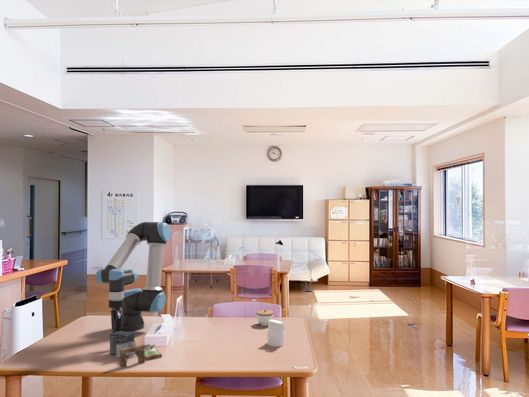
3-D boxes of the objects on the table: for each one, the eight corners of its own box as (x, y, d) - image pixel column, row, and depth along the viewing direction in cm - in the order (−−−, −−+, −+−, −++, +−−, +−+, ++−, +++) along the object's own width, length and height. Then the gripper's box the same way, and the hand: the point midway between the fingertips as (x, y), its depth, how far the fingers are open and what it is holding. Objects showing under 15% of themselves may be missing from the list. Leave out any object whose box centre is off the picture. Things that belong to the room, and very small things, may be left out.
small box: (135, 352, 213) (135, 332, 213) (127, 357, 207) (127, 335, 207) (117, 350, 216) (117, 330, 216) (109, 355, 210) (109, 334, 210)
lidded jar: (273, 327, 258) (273, 311, 258) (256, 326, 258) (256, 311, 258) (273, 322, 269) (273, 307, 269) (256, 322, 269) (256, 307, 269)
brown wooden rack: (154, 348, 215) (154, 337, 215) (161, 354, 206) (161, 342, 206) (116, 356, 204) (116, 344, 204) (122, 363, 195) (122, 350, 195)
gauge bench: (149, 346, 222) (149, 331, 222) (163, 358, 205) (163, 342, 205) (109, 354, 210) (109, 338, 210) (121, 367, 194) (121, 350, 194)
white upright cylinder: (287, 343, 227) (287, 321, 227) (276, 347, 221) (276, 324, 221) (275, 339, 233) (275, 318, 234) (264, 343, 227) (264, 321, 227)
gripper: (105, 297, 223) (105, 342, 222) (112, 302, 212) (111, 349, 212) (120, 296, 227) (119, 340, 226) (127, 300, 216) (126, 346, 216)
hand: (115, 344), depth 219 cm, fingers closed
